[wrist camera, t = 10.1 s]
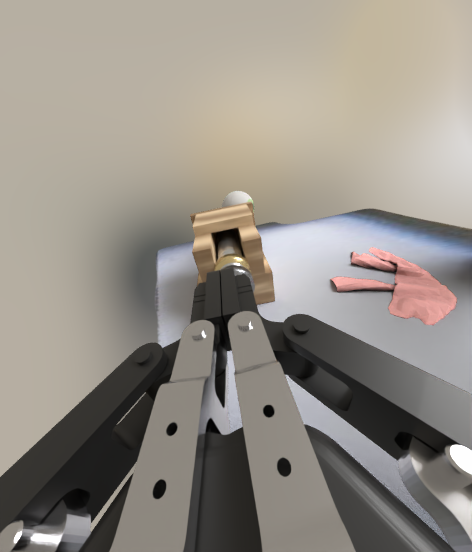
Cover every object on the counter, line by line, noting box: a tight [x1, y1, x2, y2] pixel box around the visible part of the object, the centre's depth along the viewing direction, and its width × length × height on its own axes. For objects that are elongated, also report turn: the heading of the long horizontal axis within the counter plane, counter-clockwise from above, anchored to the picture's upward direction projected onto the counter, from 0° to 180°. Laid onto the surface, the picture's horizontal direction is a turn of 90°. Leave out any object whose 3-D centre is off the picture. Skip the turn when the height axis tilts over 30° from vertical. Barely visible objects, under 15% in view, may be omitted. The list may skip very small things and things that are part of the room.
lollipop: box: [222, 191, 254, 212], centre depth 47 cm, size 7×7×15 cm
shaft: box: [214, 229, 255, 293], centre depth 33 cm, size 17×5×5 cm, turn 6°
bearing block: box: [190, 201, 275, 305], centre depth 37 cm, size 14×12×14 cm
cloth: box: [331, 247, 457, 325], centre depth 35 cm, size 20×22×2 cm
